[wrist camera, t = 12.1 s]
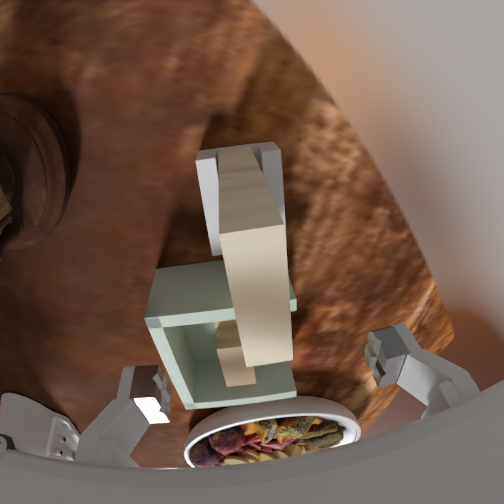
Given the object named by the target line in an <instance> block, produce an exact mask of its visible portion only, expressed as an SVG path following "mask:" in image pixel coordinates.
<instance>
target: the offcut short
mask: <svg viewBox="0 0 504 504" xmlns="http://www.w3.org/2000/svg"><path fill="white" fill-rule="evenodd" d="M216 349H217V353H218V357H219V361H220V364H221V368H222V371H223V375H224V379H225V382H226V386H227V387H232V386H241V385H249V384H256V376H255V369H254V366H252V367H246V363H245V359H244V354H243V350H242V345H241V340H240V336H239V331H238V327H234V328H226V329H217V330H216Z"/></svg>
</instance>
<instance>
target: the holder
mask: <svg viewBox="0 0 504 504" xmlns="http://www.w3.org/2000/svg"><path fill="white" fill-rule="evenodd" d="M248 146H250V147H251V149H252V151H253V153H254V155H255V158H256V160H257V162H258V164H259V167H260V169H261V171H262V173H263V176H264V178H265V180H266V182H267V185H268V187H269V189H270V192H271V194H272V196H273V199H274V201H275V203H276V205H277V208H278V210H279V212H280V215H281V217H282V220H283V222H284V224H285V237H286V223H285V206H284V189H283V174H282V159H281V150H280V148H279V147H278V146H277V145H276V144H275V143H274V142H263V143H254V144H245V145H237V146H229V147H222V148H214V149H208V150H201V151H199V152H198V154H197V158H196V166H197V172H198V178H199V184H200V190H201V196H202V202H203V207H204V213H205V219H206V224H207V230H208V235H209V240H210V246H211V251H212V256H217V255H223V253H222V248H221V243H220V237H219V192H218V156H219V151H221V150H228V149H234V148H241V147H248ZM286 246H287V243H286Z"/></svg>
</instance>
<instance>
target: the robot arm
mask: <svg viewBox="0 0 504 504" xmlns="http://www.w3.org/2000/svg"><path fill="white" fill-rule="evenodd" d="M367 339H368V341H369V342H368V343H367V345H366V347H365V358H366V362H367V364H368V366H369V367H370V368H371V369H373V370H374V372H373V377H374V379H375V381H376V384H377V386H378V387H382V386H386V385H389V384H393V383H397V384H398V385H399V386H401V387H402V388H404V389H405V390H406V391H408V392H409V393H410V394H412V395H413V396H414V397H416V398H417V399H419V400H420V401H421V402H422V403H424V404H425V405H427V408H426V409H425V411H424V413H423V414H422V416H421V420H418V421H416V422H413V423H410V424H408V425H405V426H403V427H399V428H397V429H394V430H391V431H388V432H385V433H382V434H379V435H375V436H372V437H369V438H366V439H362V440H359V441H355V442H352V443H348V444H344V445H340V446H336V447H332V448H328V449H324V450H320V451H315V452H311V453H306V454H301V455H296V456H290V457H285V458H279V459H273V460H266V461H259V462H251V463H243V464H234V465H223V466H210V467H191V468H139V465H138V464H137V463H136V462H135V461H134V460H133V459H132V458H131V457H130V456H129V455H130V454H131V452H132V451H133V449H134V448H135V446H136V445H137V443H138V442H139V440H140V439H141V437H142V436H143V434H144V433H145V431H146V430H147V428H148V427H149V425H150V424H149V423H166V422H170V407H169V405H168V402H169V401H170V400H171V386H170V383H169V380H168V378H167V377H166V376H164V370H163V368H162V366H161V365H149V366H127V367H124V368H123V370H122V374H121V379H120V384H119V389H118V394H117V399H113V400H112V401H111V403H110V404H109V405H108V406H107V407H106V408H105V409H104V410H103V411H102V412H101V413H100V414H99V415H98V417H97V418H96V419H95V420H94V421H93V422H92V423H91V424H90V425H89V426H88V427H87V428H86V430H85V431H84V432H83V433H82V434H81V435H80V434H79V432H78V431H77V429H76V428H75V427H74V425H73V424H72V422H71V421H70V419H69V418H67V417H65V416H63V415H61V414H58V413H56V412H53V411H51V410H49V409H48V408H46V407H44V406H43V405H41V404H39V403H37V402H35V401H33V400H31V399H29V398H27V397H24V396H21V395H18V394H14V393H4V394H3V395H2V396H1V406H0V504H504V380H503V381H501V382H499V383H497V384H496V385H494V386H492V387H490V388H488V389H486V390H484V391H483V392H480V391H479V389H478V387H477V386H476V384H475V383H474V381H473V379H472V378H471V376H470V375H469V373H468V372H467V371H466V370H464V369H462V368H460V367H458V366H456V365H454V364H453V363H451V362H449V361H447V360H445V359H443V358H441V357H439V356H437V355H435V354H433V353H431V352H430V351H428V350H426V349H422V350H421V348H420V346H419V345H418V343H417V342H416V340H415V339H414V337H413V336H412V334H411V333H410V331H409V329H408V328H407V326H406V325H405V324H404V323H400V324H396V325H392V326H387V327H384V328H380V329H376V330H372V331H370V332H369V333H368V337H367Z"/></svg>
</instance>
